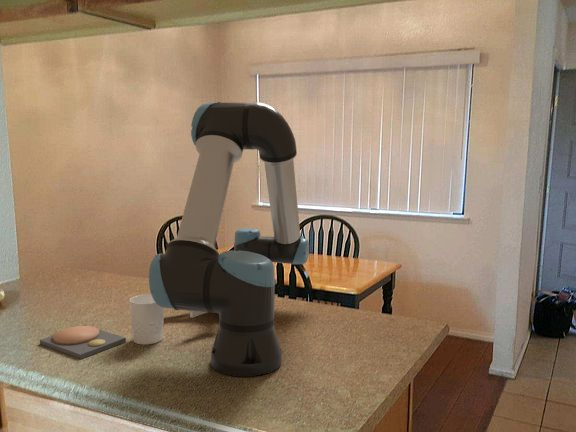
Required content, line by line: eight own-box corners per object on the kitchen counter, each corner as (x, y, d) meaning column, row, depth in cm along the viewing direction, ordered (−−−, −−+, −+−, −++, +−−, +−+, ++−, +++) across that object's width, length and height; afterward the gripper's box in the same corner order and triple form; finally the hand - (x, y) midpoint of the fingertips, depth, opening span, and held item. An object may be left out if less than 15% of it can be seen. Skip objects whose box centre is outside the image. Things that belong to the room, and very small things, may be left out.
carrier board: (125, 341, 120) (125, 334, 120) (80, 359, 110) (80, 351, 110) (85, 329, 128) (85, 322, 128) (39, 343, 118) (39, 336, 118)
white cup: (166, 333, 127) (165, 293, 125) (163, 345, 119) (162, 303, 117) (133, 334, 125) (131, 294, 124) (128, 346, 118) (127, 304, 116)
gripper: (261, 308, 139) (209, 331, 122) (193, 293, 153) (137, 312, 135) (261, 281, 138) (208, 300, 121) (193, 268, 152) (136, 284, 134)
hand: (170, 306), depth 128 cm, fingers open, 13 cm apart
